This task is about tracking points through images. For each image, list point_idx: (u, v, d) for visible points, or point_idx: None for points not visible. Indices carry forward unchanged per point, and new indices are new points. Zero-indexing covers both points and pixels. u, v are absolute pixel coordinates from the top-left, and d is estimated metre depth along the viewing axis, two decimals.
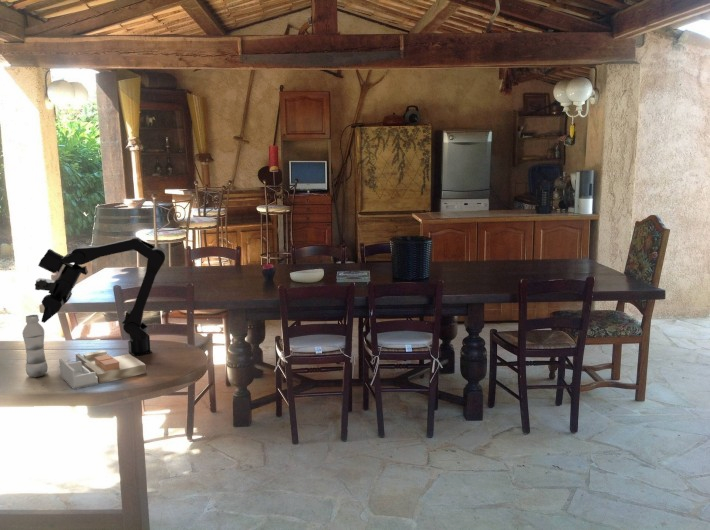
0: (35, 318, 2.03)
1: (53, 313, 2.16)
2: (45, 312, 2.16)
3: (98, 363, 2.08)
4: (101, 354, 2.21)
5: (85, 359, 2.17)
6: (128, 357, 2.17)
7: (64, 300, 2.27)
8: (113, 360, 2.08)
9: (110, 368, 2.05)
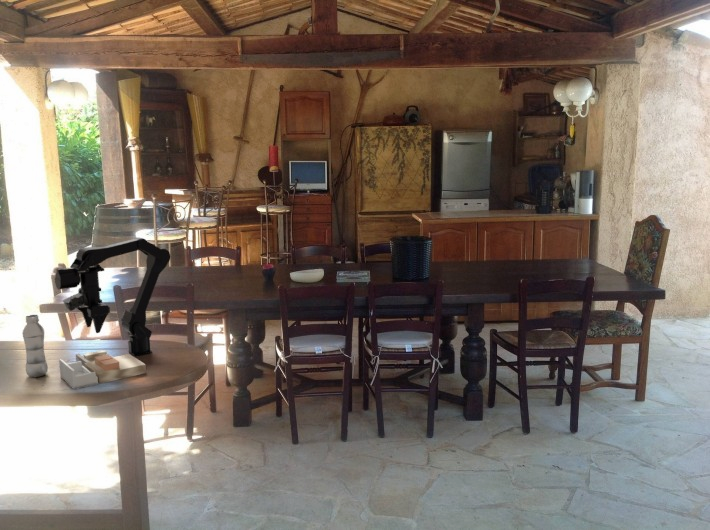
0: (35, 318, 2.03)
1: (103, 319, 2.15)
2: (96, 322, 2.14)
3: (98, 363, 2.08)
4: (101, 354, 2.21)
5: (85, 359, 2.17)
6: (128, 357, 2.17)
7: None
8: (113, 360, 2.08)
9: (110, 368, 2.05)
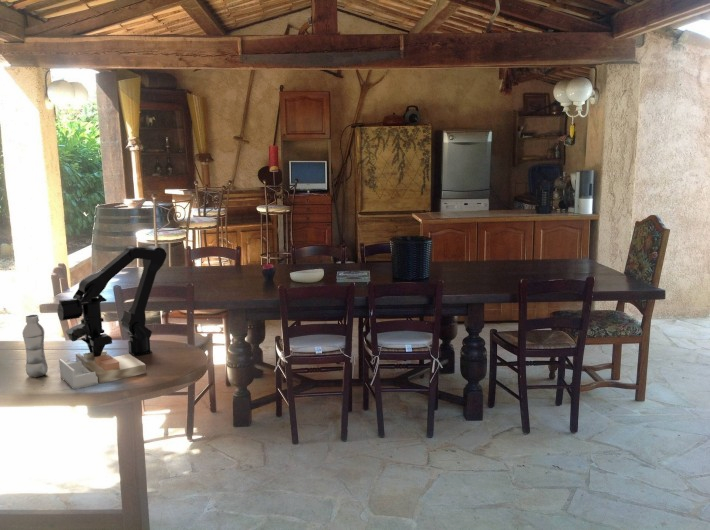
0: (35, 318, 2.03)
1: (102, 347, 2.19)
2: (95, 351, 2.18)
3: (98, 363, 2.08)
4: (101, 354, 2.21)
5: (85, 359, 2.17)
6: (128, 357, 2.17)
7: None
8: (113, 360, 2.08)
9: (110, 368, 2.05)
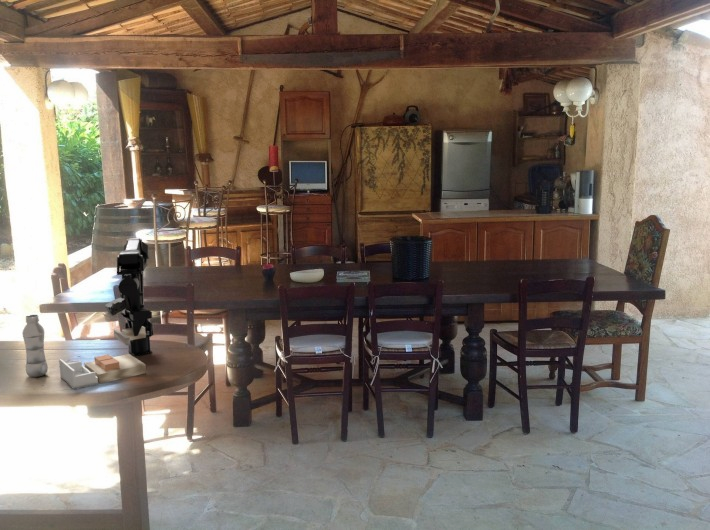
0: (35, 318, 2.03)
1: (142, 322, 2.13)
2: (134, 326, 2.12)
3: (98, 363, 2.08)
4: (140, 330, 2.14)
5: (124, 334, 2.10)
6: (128, 357, 2.17)
7: None
8: (113, 360, 2.08)
9: (110, 368, 2.05)
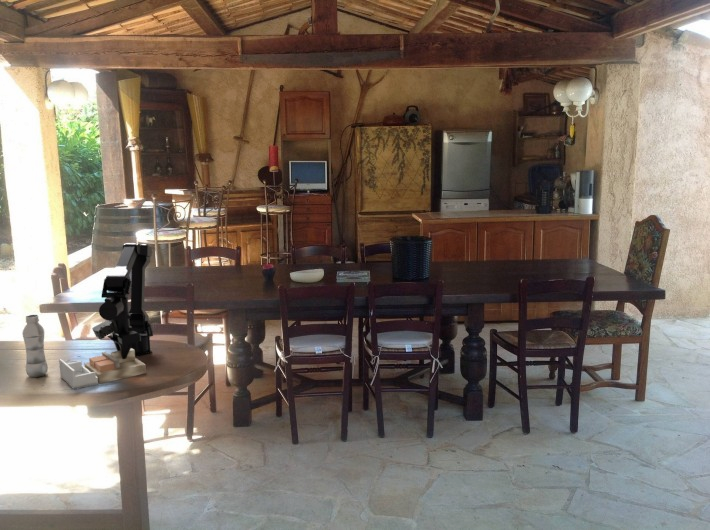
0: (35, 318, 2.03)
1: (130, 345, 2.10)
2: (123, 349, 2.09)
3: (93, 364, 2.07)
4: (129, 352, 2.12)
5: (113, 357, 2.08)
6: None
7: None
8: (108, 361, 2.07)
9: (105, 369, 2.04)
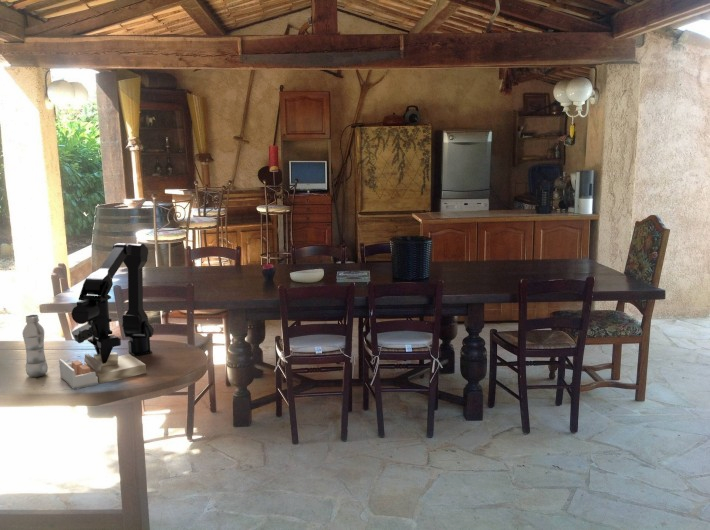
0: (35, 318, 2.03)
1: (110, 349, 2.06)
2: (102, 353, 2.05)
3: None
4: (112, 356, 2.09)
5: (95, 360, 2.04)
6: (128, 357, 2.17)
7: None
8: (80, 369, 2.01)
9: None
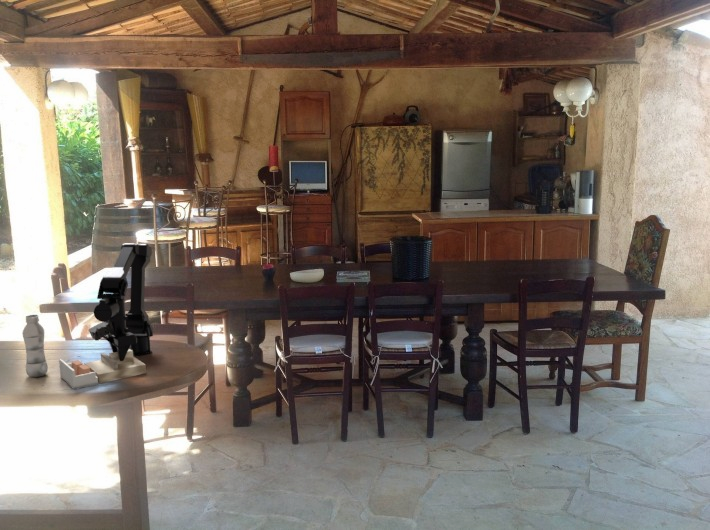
0: (35, 318, 2.03)
1: (128, 347, 2.09)
2: (120, 351, 2.08)
3: None
4: (127, 353, 2.12)
5: (111, 359, 2.08)
6: None
7: None
8: (80, 369, 2.01)
9: None
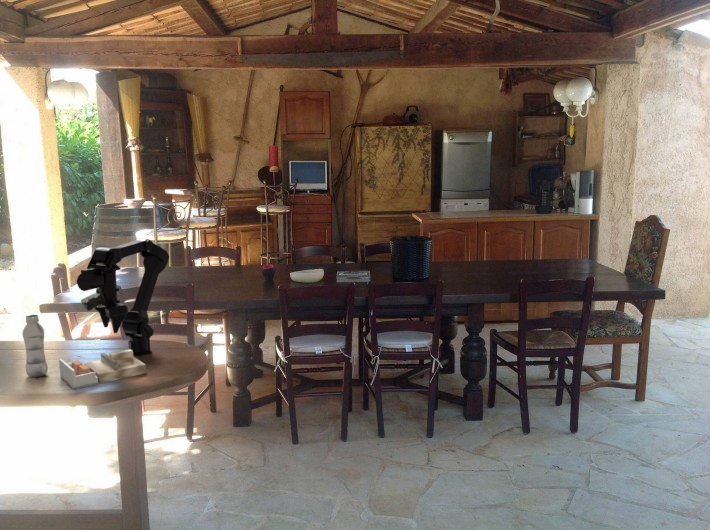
0: (35, 318, 2.03)
1: (121, 319, 2.13)
2: (114, 323, 2.12)
3: None
4: (127, 353, 2.12)
5: (111, 359, 2.08)
6: None
7: None
8: (80, 369, 2.01)
9: None
